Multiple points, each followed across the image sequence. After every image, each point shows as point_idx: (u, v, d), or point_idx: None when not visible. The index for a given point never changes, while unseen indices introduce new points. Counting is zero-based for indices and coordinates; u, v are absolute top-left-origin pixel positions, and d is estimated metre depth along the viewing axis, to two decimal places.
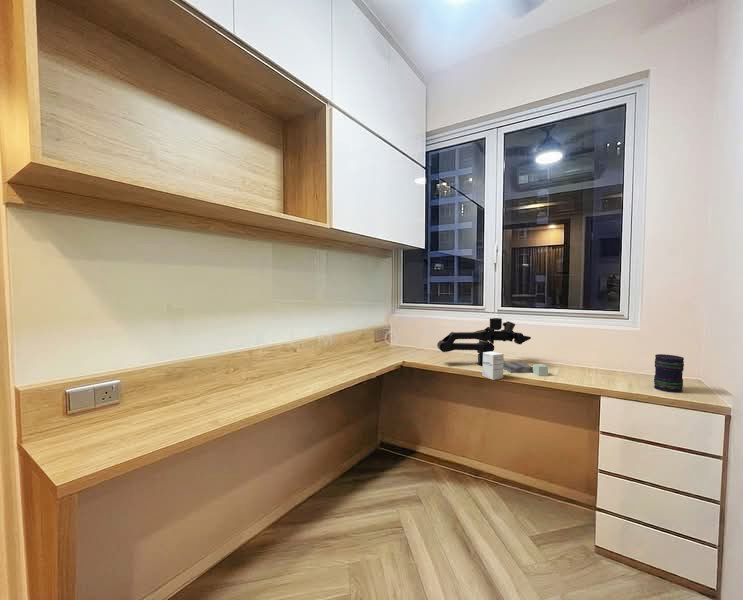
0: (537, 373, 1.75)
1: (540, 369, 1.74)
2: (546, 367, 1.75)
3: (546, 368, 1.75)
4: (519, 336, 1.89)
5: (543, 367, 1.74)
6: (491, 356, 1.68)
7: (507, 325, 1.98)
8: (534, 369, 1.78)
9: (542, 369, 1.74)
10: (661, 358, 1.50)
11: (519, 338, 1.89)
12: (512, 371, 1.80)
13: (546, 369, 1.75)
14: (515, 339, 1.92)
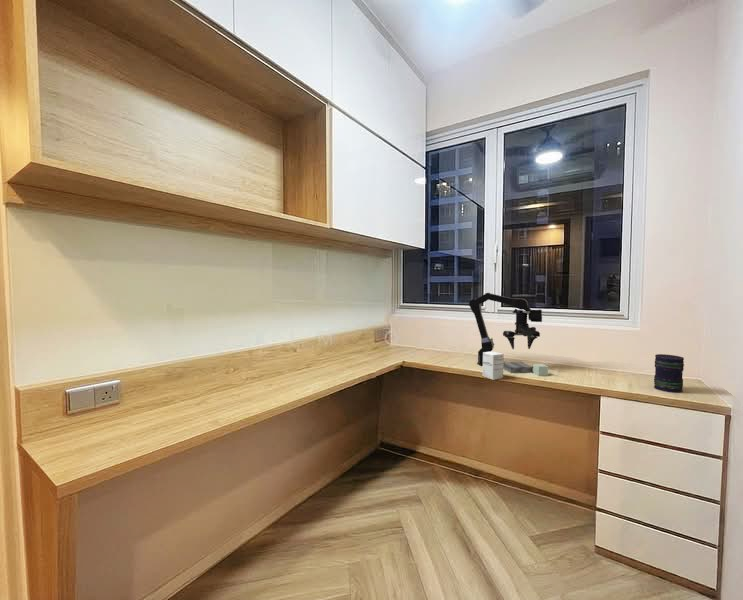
0: (537, 373, 1.75)
1: (540, 369, 1.74)
2: (546, 367, 1.75)
3: (546, 368, 1.75)
4: (506, 333, 1.87)
5: (543, 367, 1.74)
6: (491, 356, 1.68)
7: (526, 329, 1.82)
8: (534, 369, 1.78)
9: (542, 369, 1.74)
10: (661, 358, 1.50)
11: (505, 332, 1.88)
12: (512, 371, 1.80)
13: (546, 369, 1.75)
14: (508, 331, 1.89)
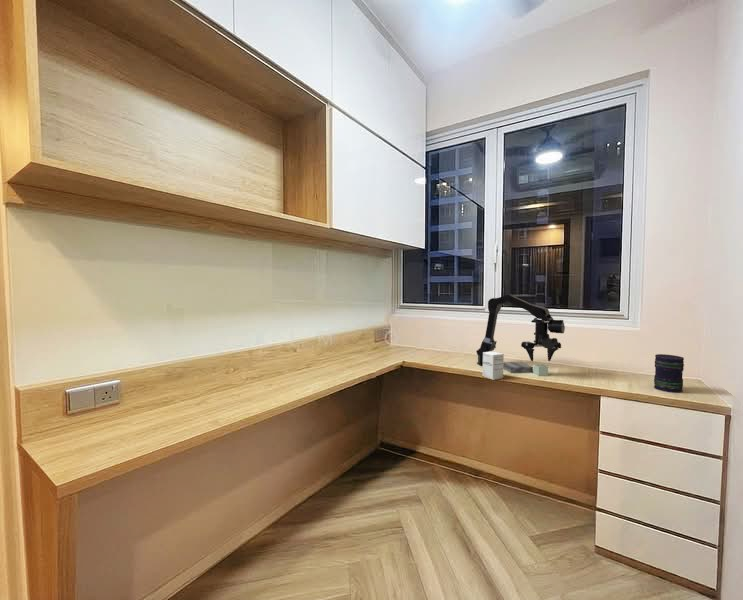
0: (537, 373, 1.76)
1: (540, 369, 1.74)
2: (546, 367, 1.75)
3: (546, 368, 1.75)
4: (525, 344, 1.74)
5: (543, 367, 1.74)
6: (491, 356, 1.68)
7: (547, 340, 1.70)
8: (534, 369, 1.78)
9: (542, 369, 1.74)
10: (661, 358, 1.50)
11: (523, 343, 1.76)
12: (512, 371, 1.80)
13: (546, 369, 1.75)
14: (527, 342, 1.77)
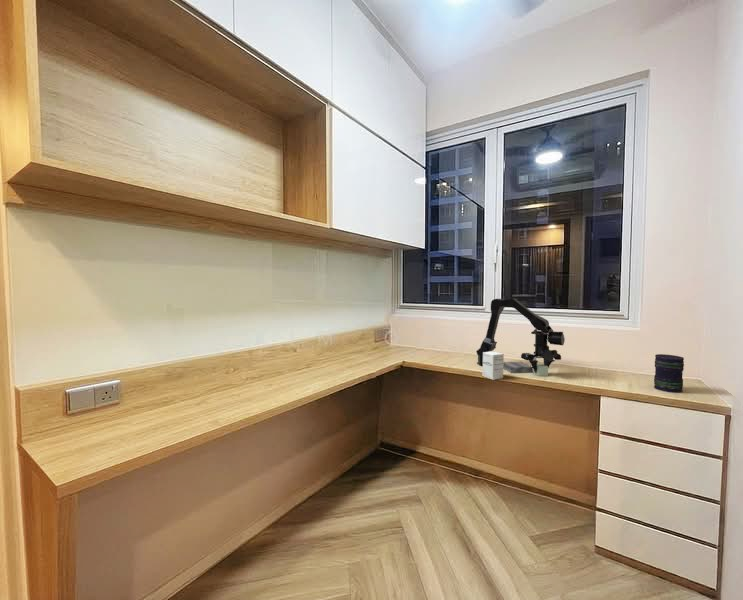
0: (537, 373, 1.75)
1: (540, 369, 1.74)
2: (546, 367, 1.75)
3: (546, 368, 1.75)
4: (525, 356, 1.75)
5: (543, 367, 1.74)
6: (491, 356, 1.68)
7: (547, 352, 1.70)
8: None
9: (542, 369, 1.74)
10: (661, 358, 1.50)
11: (523, 355, 1.76)
12: (512, 371, 1.80)
13: (546, 369, 1.75)
14: (527, 353, 1.77)
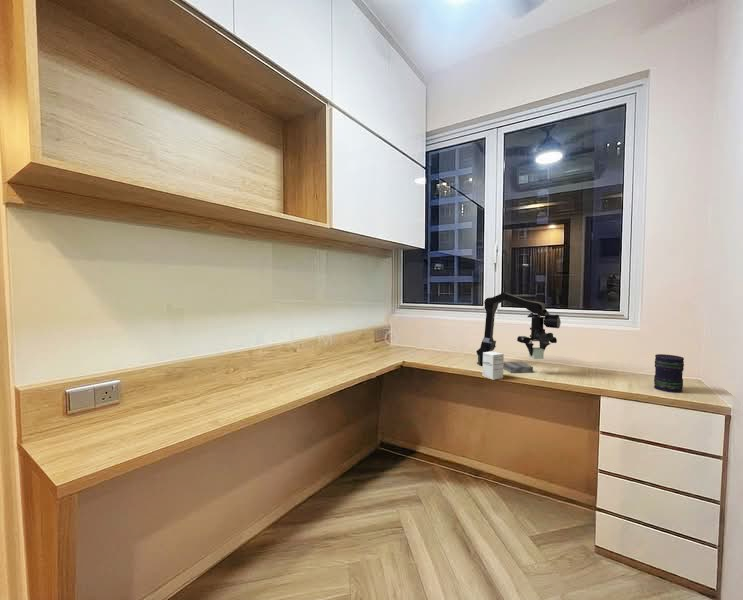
0: (533, 356, 1.77)
1: (536, 352, 1.76)
2: (542, 350, 1.76)
3: (542, 351, 1.76)
4: (521, 339, 1.76)
5: (539, 350, 1.76)
6: (491, 356, 1.68)
7: (543, 335, 1.71)
8: None
9: (538, 352, 1.76)
10: (661, 358, 1.50)
11: (519, 338, 1.77)
12: (512, 371, 1.80)
13: (542, 352, 1.76)
14: (523, 336, 1.78)
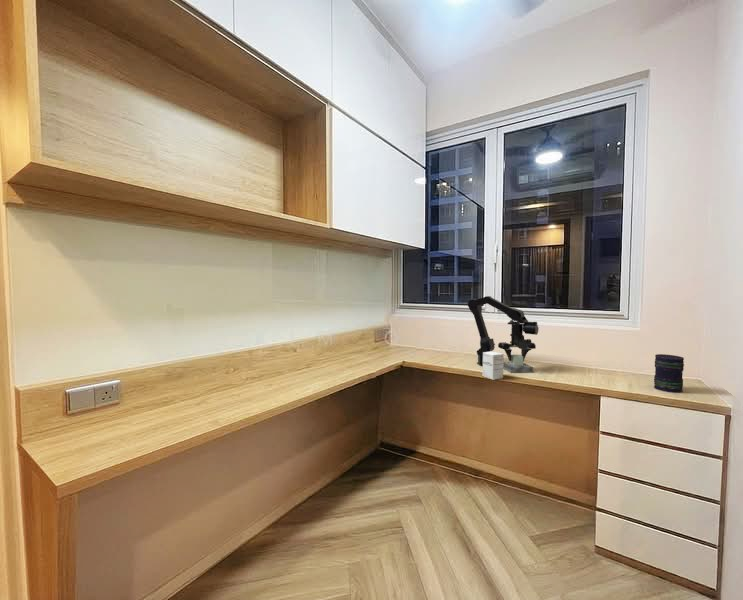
0: (513, 363, 1.85)
1: (515, 359, 1.84)
2: (521, 357, 1.84)
3: (521, 358, 1.84)
4: (501, 345, 1.84)
5: (518, 357, 1.84)
6: (491, 356, 1.68)
7: (522, 341, 1.80)
8: None
9: (517, 359, 1.84)
10: (661, 358, 1.50)
11: (500, 344, 1.85)
12: (512, 371, 1.80)
13: (521, 359, 1.84)
14: (503, 342, 1.86)
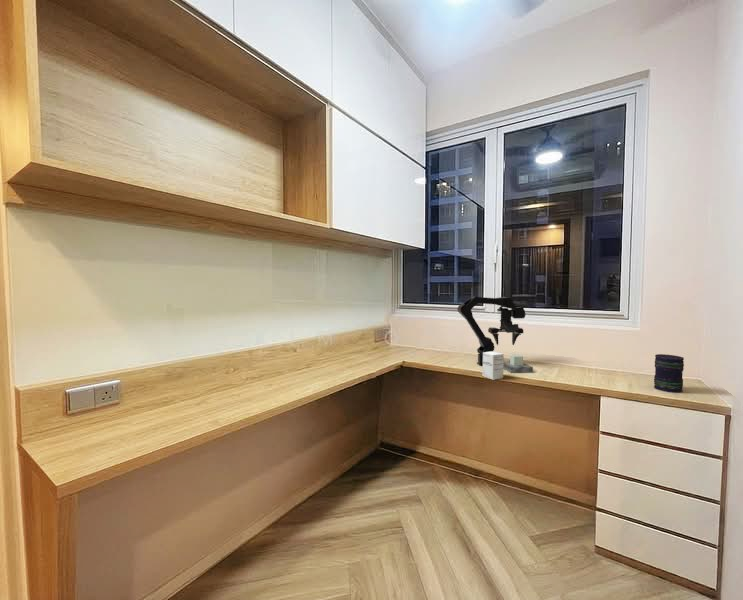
0: (513, 363, 1.85)
1: (515, 359, 1.84)
2: (521, 357, 1.84)
3: (521, 358, 1.84)
4: (490, 330, 1.96)
5: (518, 357, 1.84)
6: (491, 356, 1.68)
7: (509, 326, 1.92)
8: (510, 359, 1.88)
9: (517, 359, 1.84)
10: (661, 358, 1.50)
11: (489, 329, 1.98)
12: (512, 371, 1.80)
13: (521, 359, 1.84)
14: None
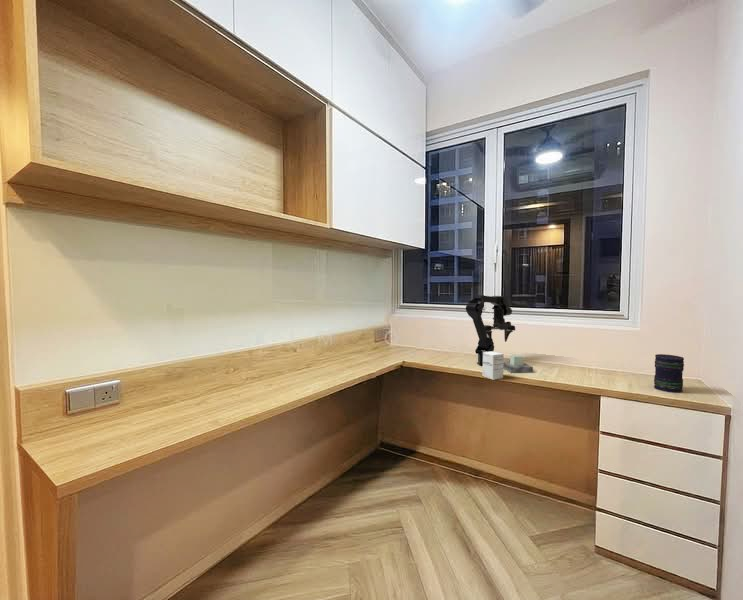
0: (513, 363, 1.85)
1: (515, 359, 1.84)
2: (521, 357, 1.84)
3: (521, 358, 1.84)
4: (484, 327, 2.04)
5: (518, 357, 1.84)
6: (491, 356, 1.68)
7: (502, 323, 2.00)
8: (510, 359, 1.88)
9: (517, 359, 1.84)
10: (661, 358, 1.50)
11: (483, 326, 2.06)
12: (512, 371, 1.80)
13: (521, 359, 1.84)
14: (486, 325, 2.07)
